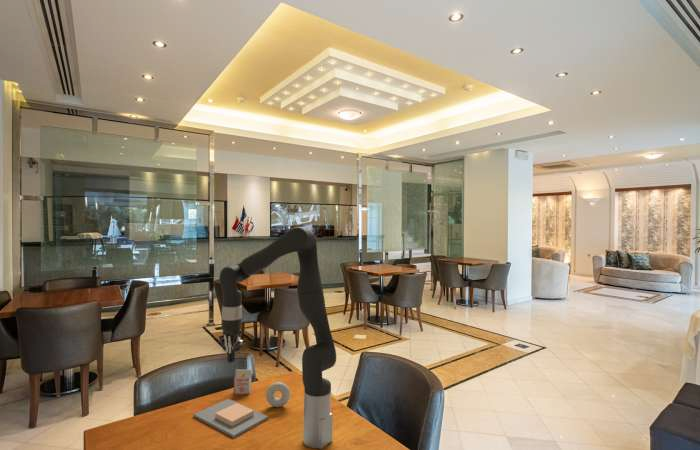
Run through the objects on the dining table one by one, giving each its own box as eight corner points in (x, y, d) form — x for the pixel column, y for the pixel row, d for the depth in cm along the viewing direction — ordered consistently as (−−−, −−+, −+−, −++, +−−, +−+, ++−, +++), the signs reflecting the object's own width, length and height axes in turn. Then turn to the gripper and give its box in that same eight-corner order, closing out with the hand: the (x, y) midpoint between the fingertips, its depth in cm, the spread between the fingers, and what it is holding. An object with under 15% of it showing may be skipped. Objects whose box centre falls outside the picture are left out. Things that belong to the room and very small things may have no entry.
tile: (236, 407, 146) (253, 415, 140) (215, 418, 138) (232, 427, 132) (236, 402, 146) (253, 410, 140) (215, 413, 138) (232, 421, 132)
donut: (290, 404, 152) (291, 380, 152) (289, 409, 148) (289, 384, 148) (266, 404, 152) (267, 380, 152) (264, 408, 148) (265, 383, 148)
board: (268, 418, 140) (268, 416, 140) (233, 438, 127) (233, 435, 127) (228, 401, 154) (228, 398, 154) (193, 416, 141) (193, 414, 141)
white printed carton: (235, 390, 164) (236, 368, 164) (251, 390, 164) (251, 368, 164) (233, 394, 160) (234, 371, 160) (249, 394, 161) (249, 371, 161)
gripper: (251, 317, 141) (249, 363, 141) (229, 312, 148) (227, 355, 148) (235, 321, 135) (233, 368, 135) (212, 316, 142) (211, 360, 142)
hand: (230, 361), depth 141 cm, fingers closed
